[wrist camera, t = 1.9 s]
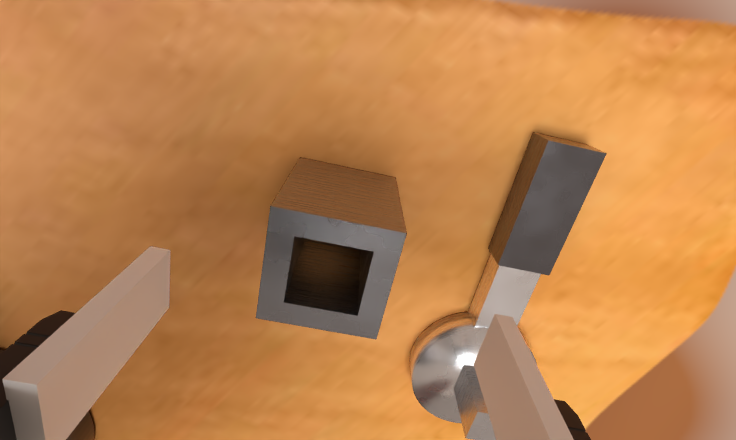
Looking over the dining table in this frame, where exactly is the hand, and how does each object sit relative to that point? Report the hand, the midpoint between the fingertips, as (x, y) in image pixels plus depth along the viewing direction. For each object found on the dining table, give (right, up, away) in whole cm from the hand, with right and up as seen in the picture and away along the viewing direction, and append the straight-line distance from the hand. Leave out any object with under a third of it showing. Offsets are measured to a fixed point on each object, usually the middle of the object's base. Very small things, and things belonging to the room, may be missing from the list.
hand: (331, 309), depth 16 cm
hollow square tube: (0, +4, +10) cm, 11 cm away
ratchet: (+11, -1, +12) cm, 16 cm away
